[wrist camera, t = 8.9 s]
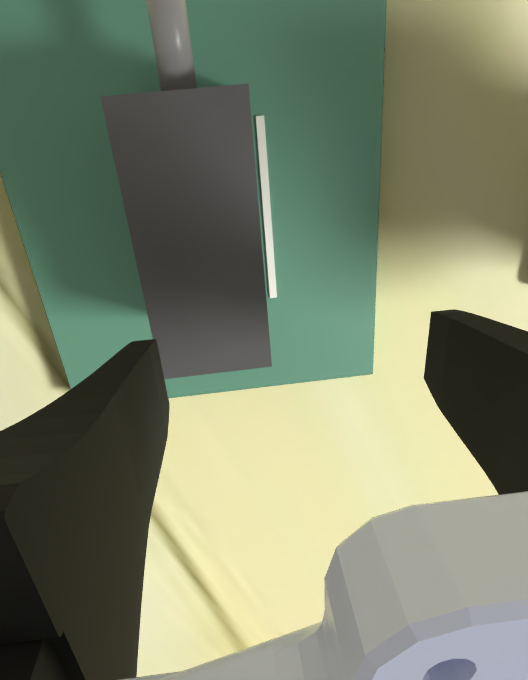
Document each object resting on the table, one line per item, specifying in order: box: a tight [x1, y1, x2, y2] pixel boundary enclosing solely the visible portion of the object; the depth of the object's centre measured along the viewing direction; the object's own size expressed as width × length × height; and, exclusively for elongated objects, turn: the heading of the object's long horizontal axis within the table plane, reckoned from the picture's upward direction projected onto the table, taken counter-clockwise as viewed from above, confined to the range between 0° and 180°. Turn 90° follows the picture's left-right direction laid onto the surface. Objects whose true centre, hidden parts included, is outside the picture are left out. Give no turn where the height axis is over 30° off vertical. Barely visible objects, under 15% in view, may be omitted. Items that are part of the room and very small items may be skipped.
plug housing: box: [100, 0, 272, 379], centre depth 15 cm, size 4×12×5 cm, turn 4°
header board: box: [0, 0, 386, 398], centre depth 17 cm, size 14×16×4 cm
